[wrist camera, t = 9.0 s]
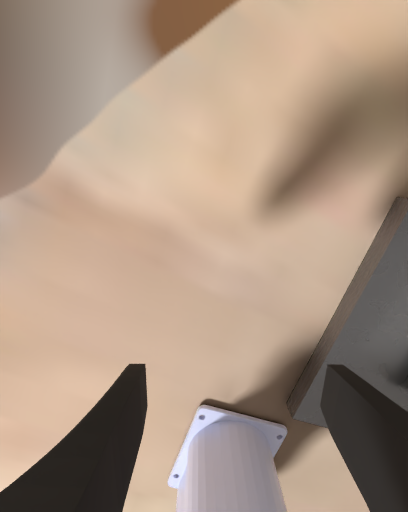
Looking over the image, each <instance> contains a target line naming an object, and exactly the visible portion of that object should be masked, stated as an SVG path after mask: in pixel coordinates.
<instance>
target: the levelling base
mask: <svg viewBox="0 0 408 512" xmlns="http://www.w3.org/2000/svg"><path fill="white" fill-rule="evenodd" d="M327 364H343V365H344V366H346V367H347V368H348V369H350V370H351V371H353V372H354V373H355V374H357V375H358V376H360V377H361V378H362V379H364V380H365V381H366V382H368V383H369V384H370V385H372V386H373V387H374V388H376V389H377V390H378V391H380V392H381V393H382V394H384V395H385V396H387V397H388V398H389V399H391V400H392V401H393V402H395V403H396V404H398V405H399V406H400V407H402V408H403V409H405V410H406V411H408V198H400V197H397V198H396V200H395V202H394V204H393V205H392V207H391V209H390V211H389V213H388V215H387V217H386V218H385V220H384V222H383V224H382V226H381V228H380V230H379V232H378V233H377V235H376V237H375V239H374V241H373V243H372V245H371V246H370V248H369V250H368V252H367V254H366V256H365V258H364V259H363V261H362V263H361V265H360V267H359V269H358V271H357V273H356V274H355V276H354V278H353V280H352V282H351V284H350V286H349V287H348V289H347V291H346V293H345V295H344V297H343V299H342V301H341V302H340V304H339V306H338V308H337V310H336V312H335V314H334V315H333V317H332V319H331V321H330V323H329V325H328V327H327V329H326V330H325V332H324V334H323V336H322V338H321V340H320V342H319V343H318V345H317V347H316V349H315V351H314V353H313V355H312V357H311V358H310V360H309V362H308V364H307V366H306V368H305V370H304V371H303V373H302V375H301V377H300V379H299V381H298V383H297V384H296V386H295V388H294V390H293V392H292V394H291V396H290V398H289V399H288V401H287V403H286V404H287V406H288V409H289V411H290V414H291V417H292V419H295V420H299V421H303V422H307V423H310V424H314V425H318V426H322V427H325V428H328V426H327V424H326V421H325V418H324V416H323V413H322V410H321V407H320V403H321V397H322V391H323V386H324V380H325V375H326V369H327Z"/></svg>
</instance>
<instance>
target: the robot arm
mask: <svg viewBox="0 0 408 512" xmlns="http://www.w3.org/2000/svg"><path fill="white" fill-rule="evenodd" d="M320 407H321V410H322V413H323V416H324V418H325V421H326V424H327V426H328V429H329V431H330V434H331V436H332V438H333V440H334V442H335V444H336V446H337V448H338V450H339V452H340V453H341V455H342V457H343V459H344V461H345V463H346V465H347V467H348V469H349V471H350V473H351V475H352V477H353V479H354V481H355V482H356V484H357V486H358V488H359V490H360V492H361V494H362V496H363V498H364V500H365V502H366V504H367V506H368V508H369V510H370V512H408V411H406V410H405V409H403V408H402V407H400V406H399V405H398V404H396V403H395V402H393V401H392V400H391V399H389V398H388V397H387V396H385V395H384V394H382V393H381V392H380V391H378V390H377V389H376V388H374V387H373V386H372V385H370V384H369V383H368V382H366V381H365V380H364V379H362V378H361V377H360V376H358V375H357V374H355V373H354V372H353V371H351V370H350V369H348V368H347V367H346V366H344V365H343V364H327V369H326V375H325V380H324V386H323V391H322V397H321V403H320ZM146 412H147V388H146V368H145V364H129V365H128V366H127V367H126V368H125V370H124V371H123V372H122V373H121V375H120V376H119V377H118V379H117V380H116V381H115V382H114V384H113V385H112V386H111V387H110V389H109V390H108V391H107V392H106V393H105V394H104V396H103V397H102V398H101V399H100V400H99V401H98V403H97V404H96V405H95V406H94V407H93V408H92V409H91V411H90V412H89V413H88V414H87V415H86V416H85V417H84V418H83V419H82V420H81V421H80V422H79V423H78V424H77V425H76V426H75V427H74V428H73V429H72V430H71V431H70V432H69V433H68V434H67V435H66V436H65V437H64V438H63V439H62V440H61V441H60V442H59V443H58V444H57V445H56V446H55V447H54V448H53V449H52V450H50V451H49V452H48V453H47V454H46V455H45V456H44V457H43V458H41V459H40V460H39V461H38V462H37V463H36V464H35V465H33V466H32V467H31V468H30V469H29V470H28V471H26V472H25V473H24V474H23V475H21V476H20V477H19V478H18V479H17V480H15V481H14V482H13V483H12V484H10V485H9V486H8V487H7V488H5V489H4V490H3V491H1V492H0V512H122V511H123V506H124V502H125V499H126V495H127V491H128V488H129V484H130V480H131V477H132V473H133V469H134V465H135V462H136V458H137V454H138V451H139V447H140V443H141V439H142V435H143V430H144V424H145V418H146ZM200 415H203V416H200ZM286 435H287V428H286V427H285V426H284V425H281V424H277V423H274V422H270V421H266V420H262V419H258V418H254V417H251V416H247V415H243V414H239V413H235V412H231V411H227V410H224V409H220V408H216V407H212V406H208V405H201V406H199V407H198V409H197V412H196V414H195V416H194V419H193V421H192V423H191V426H190V428H189V430H188V433H187V435H186V438H185V440H184V442H183V445H182V447H181V449H180V452H179V454H178V456H177V459H176V461H175V463H174V466H173V468H172V471H171V473H170V475H169V478H168V485H169V486H170V487H173V488H177V489H178V490H177V506H176V512H287V509H286V505H285V501H284V498H283V494H282V490H281V486H280V482H279V479H278V475H277V471H276V467H275V463H274V460H273V458H274V456H275V455H276V453H277V451H278V449H279V447H280V446H281V444H282V442H283V440H284V439H285V437H286Z"/></svg>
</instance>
